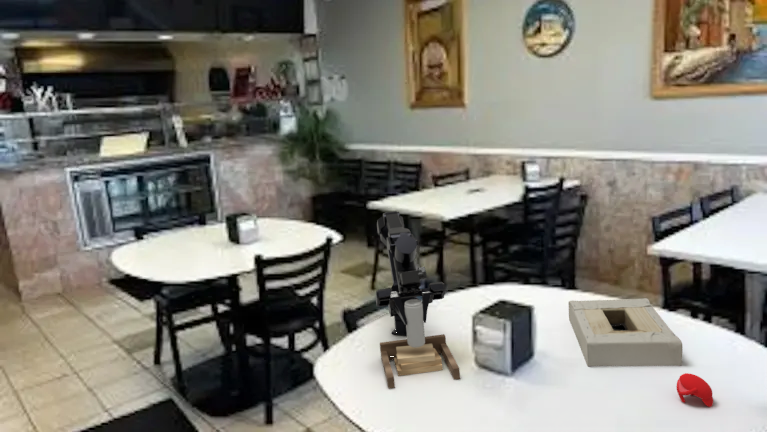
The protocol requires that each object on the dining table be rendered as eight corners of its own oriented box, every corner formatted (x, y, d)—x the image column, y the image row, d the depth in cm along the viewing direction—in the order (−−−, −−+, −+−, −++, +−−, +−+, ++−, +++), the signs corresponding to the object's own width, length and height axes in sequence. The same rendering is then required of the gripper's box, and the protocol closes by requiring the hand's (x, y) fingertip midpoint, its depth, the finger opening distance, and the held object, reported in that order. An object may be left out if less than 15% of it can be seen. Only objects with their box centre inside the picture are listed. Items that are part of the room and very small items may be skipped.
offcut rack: (381, 359, 168) (379, 342, 167) (445, 350, 170) (444, 334, 169) (388, 388, 151) (386, 370, 150) (460, 378, 153) (458, 360, 152)
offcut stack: (394, 362, 165) (392, 347, 164) (436, 356, 166) (435, 341, 165) (398, 376, 157) (396, 360, 156) (442, 370, 158) (441, 354, 157)
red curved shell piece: (667, 387, 133) (689, 383, 128) (676, 370, 137) (698, 365, 132) (691, 415, 133) (714, 411, 128) (700, 396, 136) (723, 392, 131)
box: (684, 368, 149) (647, 318, 180) (684, 339, 147) (646, 294, 178) (588, 371, 152) (567, 322, 183) (587, 343, 151) (566, 298, 182)
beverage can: (404, 346, 159) (401, 304, 156) (412, 339, 163) (408, 298, 160) (421, 349, 156) (417, 306, 154) (428, 341, 161) (425, 299, 158)
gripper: (372, 261, 158) (381, 315, 149) (441, 253, 159) (453, 306, 151) (372, 280, 167) (380, 332, 159) (437, 272, 169) (448, 323, 160)
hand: (415, 323), depth 157 cm, fingers closed on beverage can, 5 cm apart
